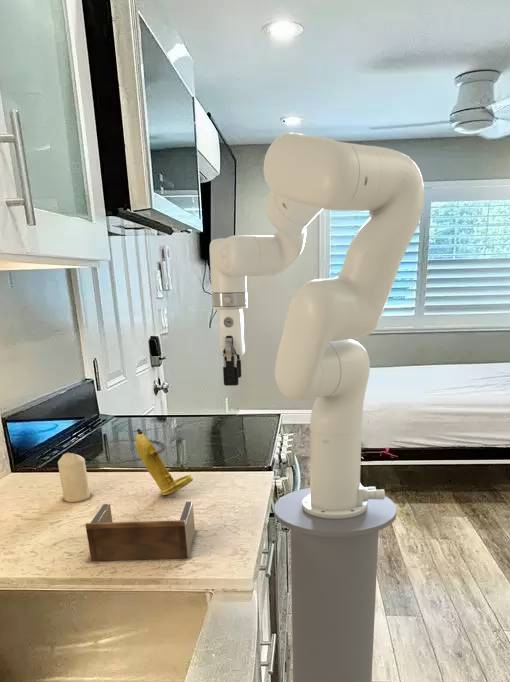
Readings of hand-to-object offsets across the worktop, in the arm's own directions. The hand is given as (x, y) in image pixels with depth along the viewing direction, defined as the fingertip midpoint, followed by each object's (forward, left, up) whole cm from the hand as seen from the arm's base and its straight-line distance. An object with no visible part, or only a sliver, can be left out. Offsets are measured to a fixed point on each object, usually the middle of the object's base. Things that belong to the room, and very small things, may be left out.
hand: (233, 381), depth 130 cm
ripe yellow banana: (+15, +13, -22) cm, 30 cm away
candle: (+35, +13, -22) cm, 44 cm away
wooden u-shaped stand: (+15, +38, -22) cm, 47 cm away
